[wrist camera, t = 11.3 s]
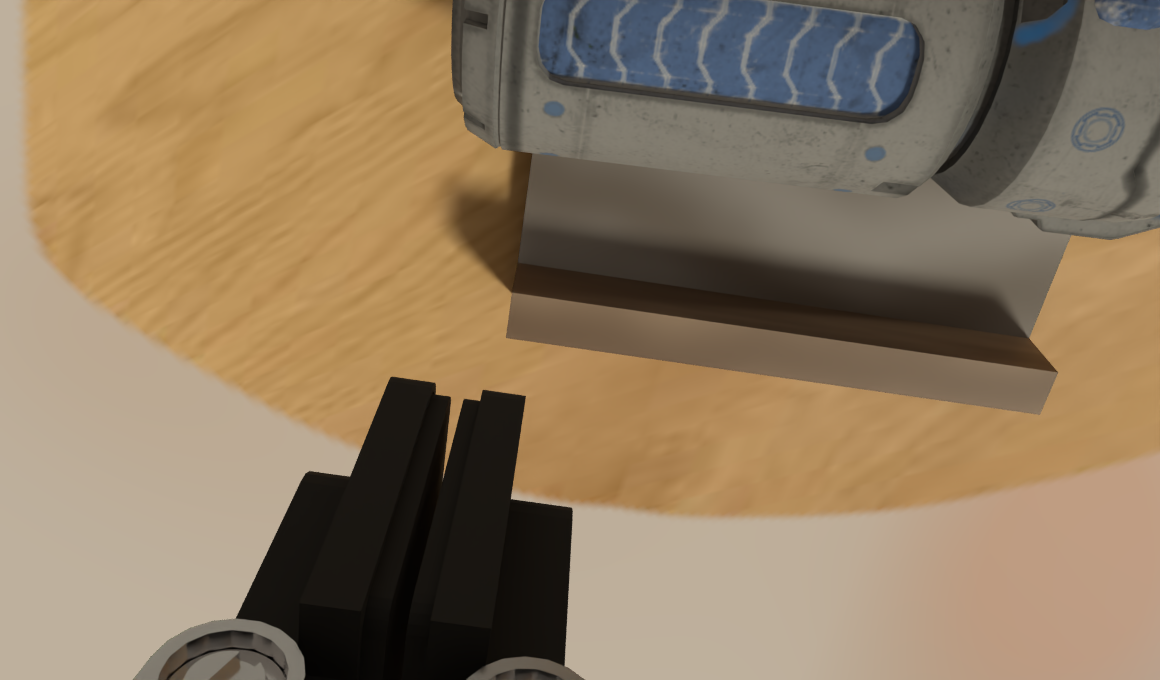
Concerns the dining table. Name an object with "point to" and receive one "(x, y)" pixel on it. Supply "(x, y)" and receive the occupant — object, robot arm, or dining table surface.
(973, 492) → the dining table surface
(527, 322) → the u rest
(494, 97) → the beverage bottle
